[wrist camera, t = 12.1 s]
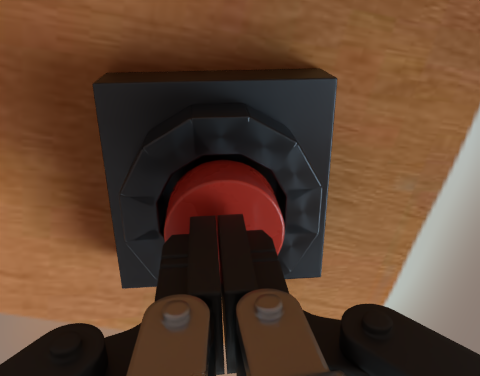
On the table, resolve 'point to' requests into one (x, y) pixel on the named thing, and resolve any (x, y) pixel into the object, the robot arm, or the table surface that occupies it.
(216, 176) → the power button
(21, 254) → the table surface
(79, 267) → the table surface
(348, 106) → the table surface
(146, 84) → the black switch housing
